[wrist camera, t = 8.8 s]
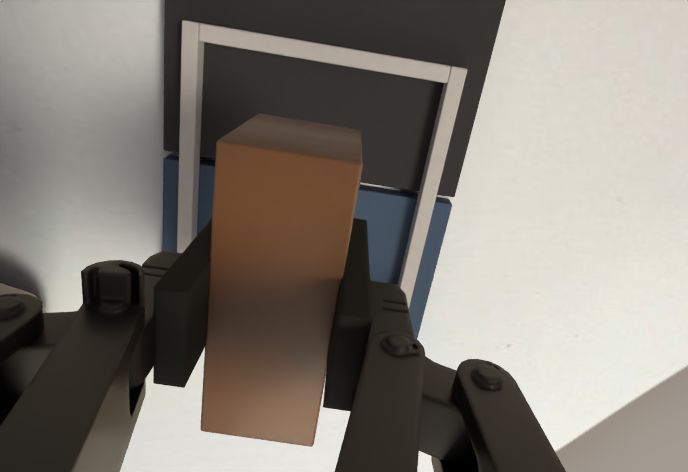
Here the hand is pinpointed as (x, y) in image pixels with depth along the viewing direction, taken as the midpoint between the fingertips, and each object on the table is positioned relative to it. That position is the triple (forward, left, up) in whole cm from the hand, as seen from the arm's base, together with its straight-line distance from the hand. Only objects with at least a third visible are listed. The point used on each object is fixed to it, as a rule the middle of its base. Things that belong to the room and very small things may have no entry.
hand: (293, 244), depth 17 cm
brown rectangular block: (0, 0, 0) cm, 0 cm away
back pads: (0, 0, -10) cm, 10 cm away
